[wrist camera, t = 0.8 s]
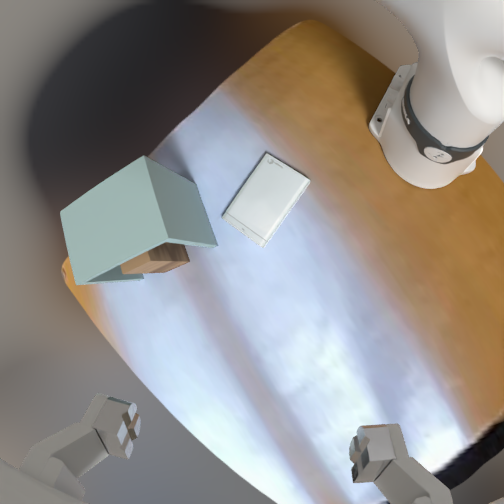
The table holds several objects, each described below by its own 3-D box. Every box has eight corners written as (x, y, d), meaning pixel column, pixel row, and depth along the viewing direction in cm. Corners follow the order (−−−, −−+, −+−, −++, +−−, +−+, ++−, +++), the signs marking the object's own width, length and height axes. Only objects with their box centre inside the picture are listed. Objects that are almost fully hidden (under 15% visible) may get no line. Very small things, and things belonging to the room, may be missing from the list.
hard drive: (266, 152, 48) (220, 217, 49) (310, 179, 46) (262, 248, 47) (268, 155, 49) (223, 219, 51) (311, 182, 47) (264, 248, 49)
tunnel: (218, 245, 50) (168, 238, 34) (139, 280, 53) (76, 284, 38) (196, 184, 51) (143, 155, 36) (122, 223, 55) (60, 211, 39)
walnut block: (189, 261, 51) (150, 260, 39) (165, 272, 52) (122, 274, 41) (180, 233, 52) (139, 225, 40) (156, 244, 53) (113, 240, 41)
